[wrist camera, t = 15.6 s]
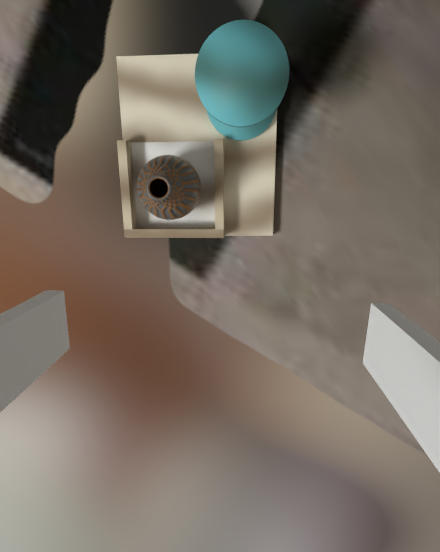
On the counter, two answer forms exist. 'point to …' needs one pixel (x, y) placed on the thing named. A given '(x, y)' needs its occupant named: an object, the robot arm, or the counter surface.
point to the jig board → (206, 130)
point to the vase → (169, 187)
